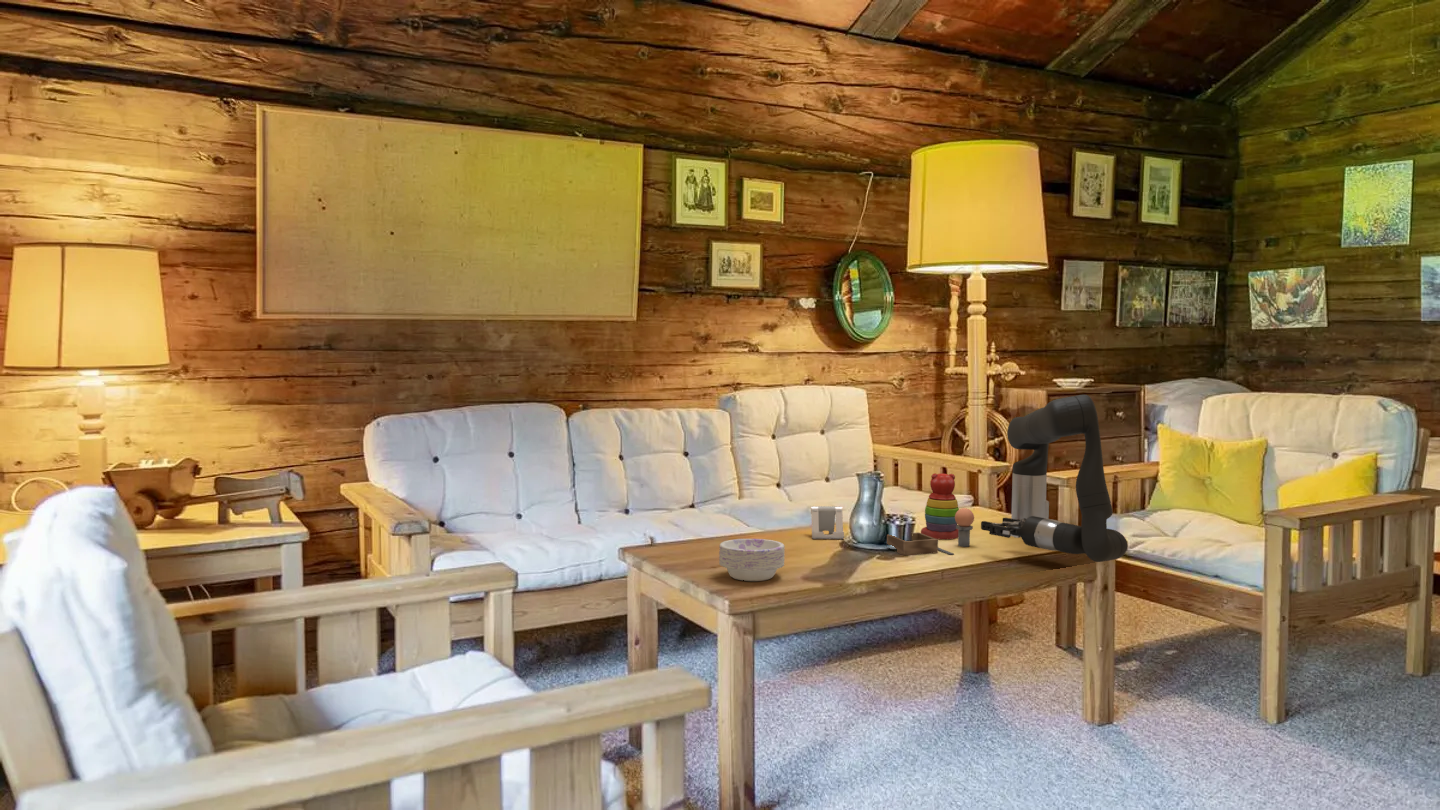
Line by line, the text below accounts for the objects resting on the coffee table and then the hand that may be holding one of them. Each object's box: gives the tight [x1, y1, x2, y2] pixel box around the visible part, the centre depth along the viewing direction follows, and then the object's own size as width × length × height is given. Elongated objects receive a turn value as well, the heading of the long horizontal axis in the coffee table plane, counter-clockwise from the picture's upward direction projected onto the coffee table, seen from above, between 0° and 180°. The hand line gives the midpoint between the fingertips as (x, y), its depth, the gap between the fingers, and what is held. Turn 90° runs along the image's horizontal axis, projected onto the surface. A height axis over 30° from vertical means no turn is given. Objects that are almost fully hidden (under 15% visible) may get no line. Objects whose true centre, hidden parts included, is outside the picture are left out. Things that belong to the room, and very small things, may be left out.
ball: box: [955, 507, 975, 527], centre depth 271 cm, size 5×5×5 cm
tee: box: [956, 524, 974, 548], centre depth 271 cm, size 4×4×5 cm
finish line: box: [938, 547, 955, 556], centre depth 268 cm, size 1×16×1 cm, turn 19°
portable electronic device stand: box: [810, 505, 845, 540], centre depth 282 cm, size 9×8×8 cm
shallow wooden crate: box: [886, 531, 939, 556], centre depth 266 cm, size 10×10×4 cm
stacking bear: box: [920, 472, 960, 541], centre depth 283 cm, size 11×10×18 cm
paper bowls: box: [718, 538, 786, 582], centre depth 237 cm, size 15×15×8 cm
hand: (992, 523), depth 263 cm, fingers open, 8 cm apart
